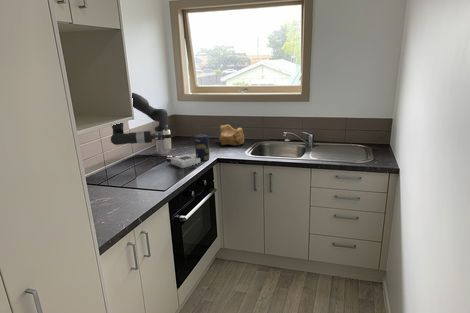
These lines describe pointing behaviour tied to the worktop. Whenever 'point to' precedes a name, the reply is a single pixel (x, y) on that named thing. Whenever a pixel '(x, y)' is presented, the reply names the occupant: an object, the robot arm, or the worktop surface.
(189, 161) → the grey square socket block
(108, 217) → the worktop surface
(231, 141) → the rough brown rock
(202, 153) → the canister
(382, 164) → the worktop surface
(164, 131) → the capped white bottle
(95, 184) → the worktop surface
